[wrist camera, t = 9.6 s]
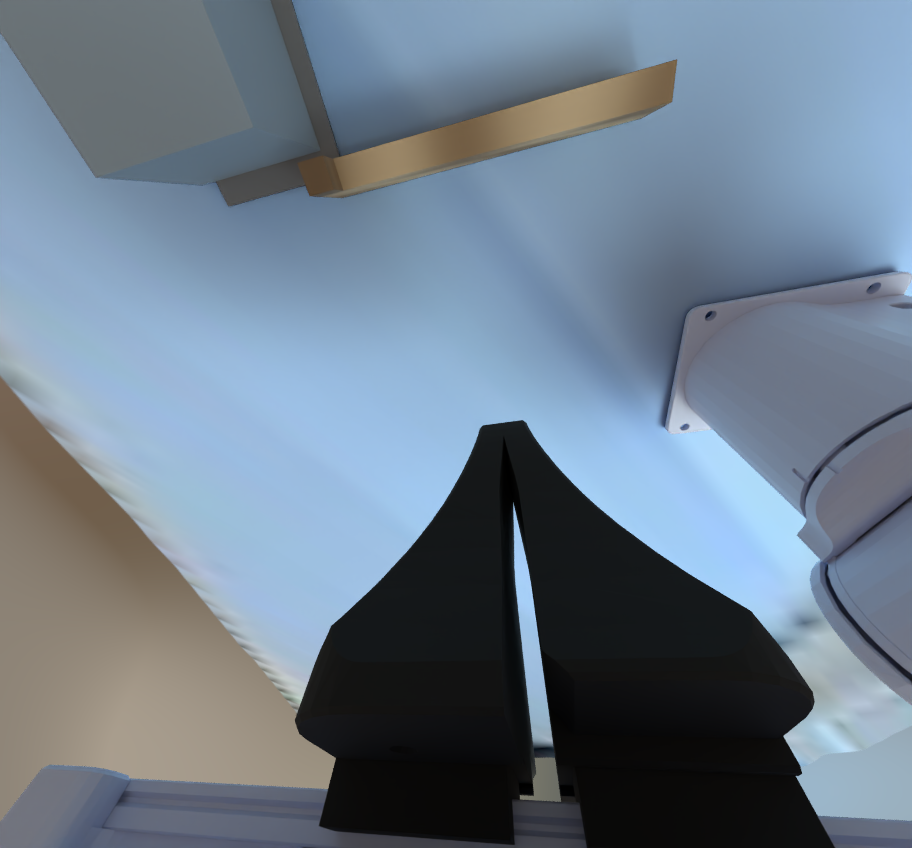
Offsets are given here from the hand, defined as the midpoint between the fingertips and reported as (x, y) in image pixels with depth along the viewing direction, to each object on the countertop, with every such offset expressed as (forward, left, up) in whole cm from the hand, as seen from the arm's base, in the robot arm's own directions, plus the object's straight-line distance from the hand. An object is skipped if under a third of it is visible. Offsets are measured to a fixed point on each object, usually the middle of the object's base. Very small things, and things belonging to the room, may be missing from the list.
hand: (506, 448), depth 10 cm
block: (+9, -12, -10) cm, 18 cm away
